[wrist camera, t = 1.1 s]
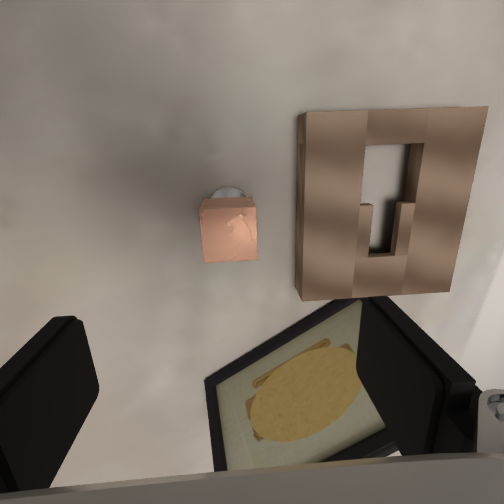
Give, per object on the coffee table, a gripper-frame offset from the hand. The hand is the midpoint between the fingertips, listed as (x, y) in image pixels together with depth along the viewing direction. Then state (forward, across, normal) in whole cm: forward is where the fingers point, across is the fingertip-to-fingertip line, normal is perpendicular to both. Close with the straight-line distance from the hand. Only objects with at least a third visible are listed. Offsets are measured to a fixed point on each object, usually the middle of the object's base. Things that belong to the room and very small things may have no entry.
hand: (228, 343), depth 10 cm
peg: (+22, 0, 0) cm, 22 cm away
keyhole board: (+22, -15, 0) cm, 27 cm away
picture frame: (+23, -8, +19) cm, 31 cm away
